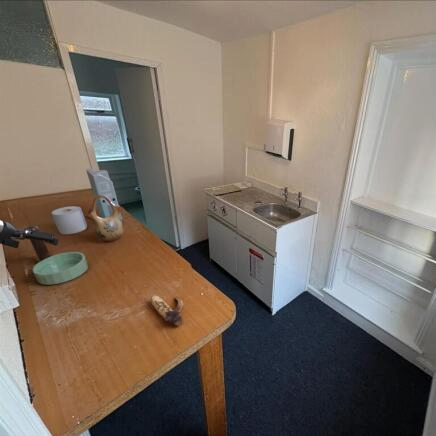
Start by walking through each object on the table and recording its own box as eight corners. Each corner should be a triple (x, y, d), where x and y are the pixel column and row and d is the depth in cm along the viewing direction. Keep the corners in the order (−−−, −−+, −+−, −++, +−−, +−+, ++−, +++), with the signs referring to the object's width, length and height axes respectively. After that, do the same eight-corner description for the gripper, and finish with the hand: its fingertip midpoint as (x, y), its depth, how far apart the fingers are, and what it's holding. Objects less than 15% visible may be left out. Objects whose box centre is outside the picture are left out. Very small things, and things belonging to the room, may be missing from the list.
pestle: (34, 264, 101) (17, 229, 94) (42, 258, 106) (27, 223, 98) (49, 263, 102) (34, 228, 95) (56, 257, 107) (42, 223, 100)
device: (122, 222, 142) (110, 173, 129) (107, 225, 136) (92, 175, 124) (114, 213, 151) (102, 167, 139) (100, 216, 146) (85, 169, 133)
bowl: (27, 288, 89) (21, 276, 86) (53, 264, 102) (48, 253, 100) (76, 283, 93) (72, 272, 91) (95, 260, 106) (91, 250, 104)
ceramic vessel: (95, 248, 115) (80, 201, 104) (90, 241, 120) (75, 196, 109) (133, 237, 126) (122, 194, 116) (127, 231, 132) (116, 189, 121)
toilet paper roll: (88, 223, 137) (82, 204, 132) (86, 231, 128) (79, 212, 124) (61, 227, 131) (53, 208, 126) (56, 236, 122) (48, 216, 117)
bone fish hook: (196, 317, 83) (170, 292, 92) (195, 307, 81) (169, 283, 90) (170, 333, 76) (145, 305, 85) (169, 323, 74) (143, 295, 83)
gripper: (-62, 241, 76) (-3, 254, 95) (33, 236, 82) (71, 249, 102) (-55, 220, 78) (2, 237, 98) (38, 217, 85) (74, 233, 104)
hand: (37, 243), depth 100 cm, fingers open, 13 cm apart
